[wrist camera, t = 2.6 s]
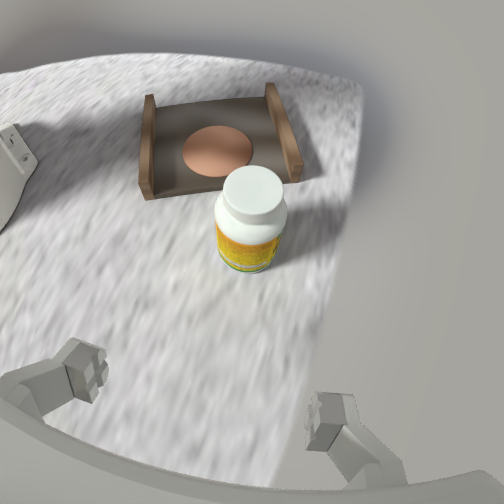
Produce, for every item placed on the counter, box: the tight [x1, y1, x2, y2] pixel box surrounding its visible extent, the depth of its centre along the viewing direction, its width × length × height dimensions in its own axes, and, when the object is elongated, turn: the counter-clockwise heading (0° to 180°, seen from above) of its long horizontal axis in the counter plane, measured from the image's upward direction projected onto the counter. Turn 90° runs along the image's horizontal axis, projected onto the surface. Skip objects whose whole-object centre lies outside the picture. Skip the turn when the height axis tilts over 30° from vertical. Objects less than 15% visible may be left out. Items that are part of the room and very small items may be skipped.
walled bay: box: [138, 83, 304, 200], centre depth 33 cm, size 14×16×3 cm
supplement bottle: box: [215, 165, 287, 274], centre depth 24 cm, size 5×5×10 cm
